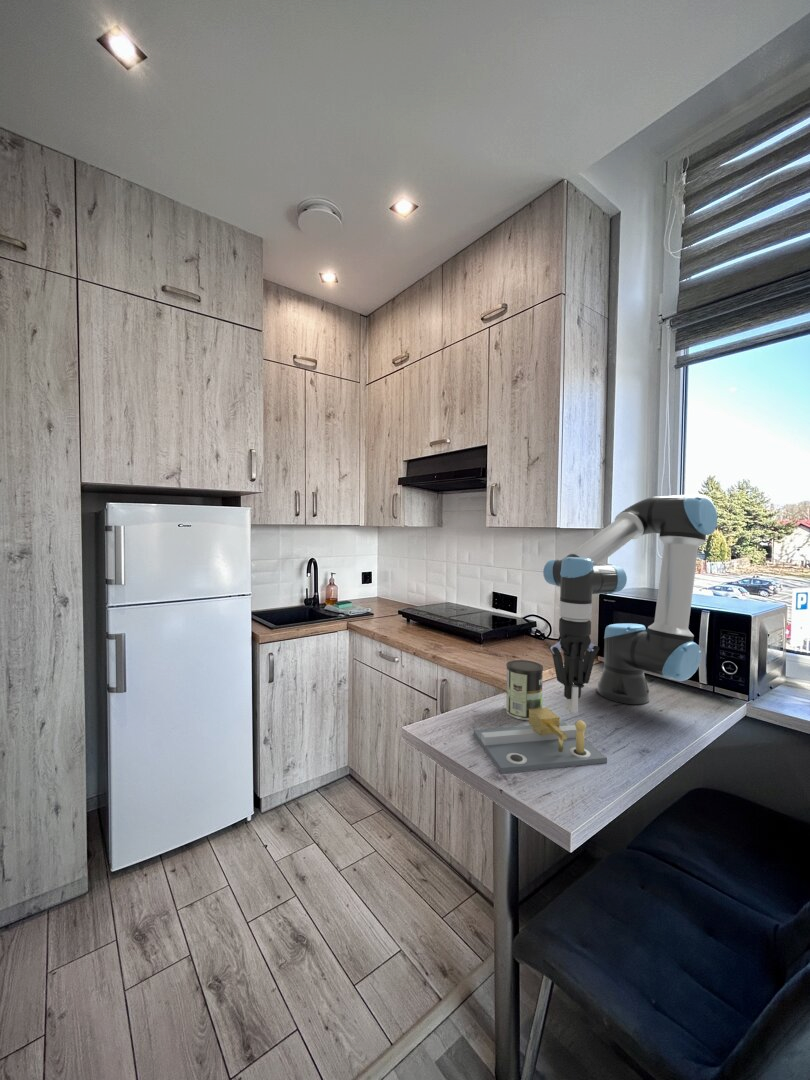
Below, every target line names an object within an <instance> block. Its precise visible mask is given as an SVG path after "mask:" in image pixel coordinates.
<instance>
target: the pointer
mask: <svg viewBox="0 0 810 1080" xmlns="http://www.w3.org/2000/svg"><path fill="white" fill-rule="evenodd" d="M559 723H560V716H558V715H557V714H556V713H554V711H552V710H551V709H550V708H548V707H542V708H533V709H529V720H528V725H530V726H531V727H532V728H533V729H534V730H535V731H536V732H537V733H538V734H539V735H550V734H556V735H557V736H558V737H559V743H558V751H559V752H563V740H565V739H567V735H566V734H565V733H564V732H563V731H562V730H561V729H559Z"/></svg>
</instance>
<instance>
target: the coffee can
mask: <svg viewBox="0 0 810 1080" xmlns="http://www.w3.org/2000/svg"><path fill="white" fill-rule="evenodd" d="M505 667H506V697H505V698H506V705H505V707H506V708H505V712H506V714H507V715H508V716H510V717H512V718H514V719H517V720H521V721H529V709H533V708H543V677H544V676H543V674H544V673H543V671H544V667H543V665H542V664H540V663H539V662H536V661H531V660H525V659H516V660H514V659H513V660H509V661H508V662H506V665H505Z"/></svg>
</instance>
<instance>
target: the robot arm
mask: <svg viewBox="0 0 810 1080" xmlns="http://www.w3.org/2000/svg"><path fill="white" fill-rule="evenodd" d="M717 526H718V512H717V509H716V507H715V505H714V503H713V501H712V499H710V497H708V496H707V495H703V494H690V493H688V494H679V495H663V496H661V495H660V496H652V497H647V498H645V499H642V500H640V501H638V502H635V503H634V504H632V505H630V506H628V507H627V508H625V509H624V510H622V511H621V512H619V513H617V515H615V518H614V521H612V523H610V524H608V525H607V526H606V527H605V528H603V529H602V530H600V531H599V532H597V533H596V534H595V535H594V536H592V537H590V539H588V540H587V541H585V542H584V543H582V544H581V545H579V546H578V547H577V548H576V549H575V550H573V551H572V552H571V553H569V554H568V555H566V556H564V557H563V558H562V559H551V560H548V561H547V562H545V565H544V566H543V571H542V572H543V573H542V574H543V578H544V580H545V582H546V583H547V584H549V585H552V586H556V587H558V588H560V593H559V594H560V597H559V616H560V618H558V621H559V622H558V633H559V635H558V638H557V641H556V643H554V644H553V645H552V644H550V645H549V646H548V649H549V651H550V652H551V654H552V660H553V665H554V669H555V675H556V680H557V682H559V683H560V684H562V686H563V687H564V688H563V692H564V693H563V697H565V699H566V706H565V707H566V710H568V712H570V713H571V714H578V711H579V699H581V694H582V688H584V687H585V684H589V682H590V678H591V675H592V671H593V667H594V663H595V658H596V655H597V654H598V652H599V650H600V647H599V646H598V645H595V644H594V643H593V642H592V640H591V637H590V635H591V634H592V629H591V628H592V621H591V619H592V617H593V616H592V613H593V611H592V610H593V609H592V608H593V607H592V604H593V603H592V601H593V595H596V594H598V595H599V594H615V593H619V592H621V591H622V590H623V589H624V588H625V587H626V585H627V581H628V577H627V573H626V571H625V570H624V568H623V567H621V566H619V565H618V564H610V563H606V564H602V563H603V562H604V561H605V560H607V559H608V558H609V557H611V556H612V555H613V554H614V553H616V552H618V551H619V550H620V549H621V548H622V547H624V546H625V545H626V544H628V543H629V542H630V541H631V540H637V539H639V538H641V537H643V536H644V535H649V534H659V535H658V538H659V540H660V541H661V542H662V543H663V551H662V558H661V566H660V576H659V583H658V591H657V599H656V606H655V614H654V622H653V623H651V624H650V625H648V626H647V629H646V626H645V625H644V624H639V623H628V622H627V623H613V624H612V623H611V624H609V625H606V627H605V628H604V629H605V630H604V637H603V639H604V640H603V641H604V646H603V647H604V648H603V654H604V655H603V670H602V673H601V675H600V677H599V681H598V683H597V693H598V694H599V695H600V696H601V697H603V698H605V699H607V700H609V701H613V702H616V703H621V704H628V705H643V704H647V703H649V702H650V700H651V699H650V698H651V695H650V694H651V693H650V690H649V686H648V682H647V680H646V676H645V672H648V673H651V674H655V675H658V676H661V677H663V678H666V679H670V680H673V681H679V682H683V681H687V680H688V679H690V678H692V676H693V675H694V674H695V673H696V672H697V671H698V669H699V666H700V664H701V660H702V651H701V647H700V645H699V644H697V643H696V642H694V637H695V635H694V634H693V633H692V632H691V631H690V629H689V627H690V626H689V625H690V616H691V610H692V609H691V608H692V600H693V592H694V586H695V585H694V583H695V577H696V567H697V560H698V559H697V558H698V552H699V547H700V546H702V545H703V544H704V543H706V537H707V536H709V535H711V534H713V533H714V532H715V531H716V529H717ZM562 651H563V652H562ZM561 653H562V654H563V655H562V654H561Z"/></svg>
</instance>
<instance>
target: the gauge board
mask: <svg viewBox="0 0 810 1080" xmlns="http://www.w3.org/2000/svg"><path fill="white" fill-rule="evenodd" d="M586 728H587V724H586V723H585V722H584V721H583V720H581V719H580V720H577V721H576V722H575V724H570V725H568V724H567V723H566V722H559V729H561V730H562V731H563V732H564V733H565V734H566V735H567V739H565V740H563V752H559V751H558V743H559V737H558V736H557V735H556V734H550V735H539V734H538V733H537V732H536V731H535V730H534V729H533V728H532V727H531V726H530V725H529V724H528V725H514V726H503V727H491V728H479V729H477V728H476V729H473V731H472V733H473V734H472V735H473V736H474V737H475V739H476V740H477V742H478V743H479V744H480V746H481V748H483V750H484V752H485V753H486V754H487V756H488V757H489V758H490V760H491V761H492V763H493V764H494V766H495V767H496V769H498V771H499V772H500V774H507V773H508V774H510V773H518V772H529V771H538V770H547V769H548V770H549V769H556V768H557V769H558V768H566V767H567V768H568V767H576V766H585V765H595V764H596V765H597V764H606V763H608V757H607V756H606V755H605V754H603V753H602V751H600V750H599V749H598V748H596V747H595V746H594V745H593V744H592V743H590V742H589V741H588V740H586V738H585V734H586V733H585V731H586Z"/></svg>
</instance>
